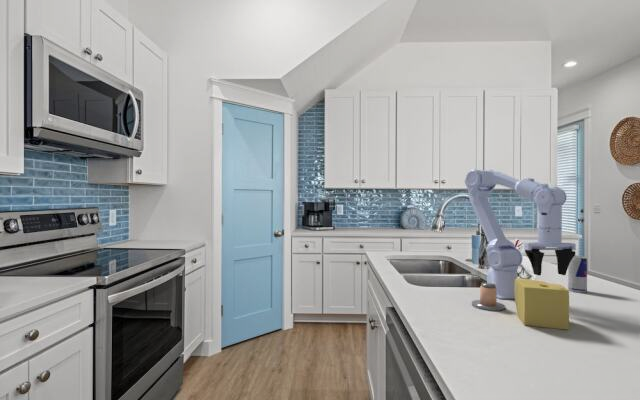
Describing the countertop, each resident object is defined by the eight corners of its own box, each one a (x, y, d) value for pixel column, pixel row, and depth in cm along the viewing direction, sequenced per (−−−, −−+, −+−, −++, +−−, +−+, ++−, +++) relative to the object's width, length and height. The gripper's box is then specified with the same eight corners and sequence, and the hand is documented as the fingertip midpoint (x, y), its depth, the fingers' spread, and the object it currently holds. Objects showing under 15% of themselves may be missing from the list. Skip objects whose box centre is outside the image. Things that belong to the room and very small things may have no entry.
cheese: (557, 317, 95) (557, 280, 95) (571, 331, 85) (571, 290, 85) (513, 313, 99) (514, 277, 99) (522, 326, 88) (522, 286, 88)
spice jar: (484, 306, 102) (484, 285, 102) (477, 302, 107) (477, 282, 107) (499, 306, 103) (499, 285, 103) (491, 302, 107) (491, 282, 107)
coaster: (466, 302, 109) (466, 300, 109) (493, 301, 110) (493, 299, 110) (481, 311, 100) (481, 309, 100) (511, 310, 101) (511, 308, 101)
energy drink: (590, 293, 121) (590, 258, 121) (572, 292, 122) (572, 257, 122) (582, 289, 126) (582, 256, 126) (565, 288, 127) (565, 255, 127)
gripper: (535, 229, 99) (535, 277, 99) (584, 229, 100) (584, 277, 100) (519, 227, 106) (519, 272, 106) (565, 227, 107) (564, 272, 107)
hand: (549, 274), depth 103 cm, fingers open, 7 cm apart
